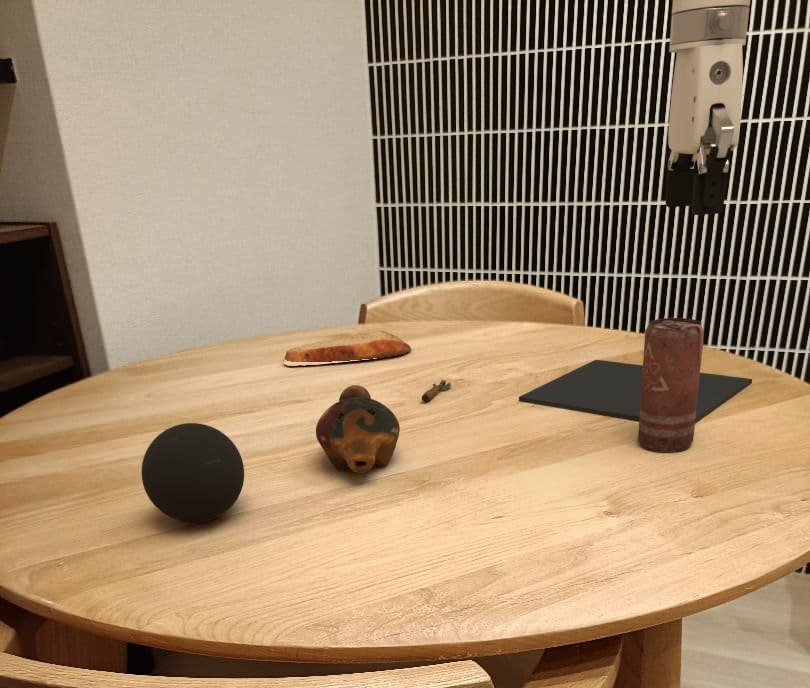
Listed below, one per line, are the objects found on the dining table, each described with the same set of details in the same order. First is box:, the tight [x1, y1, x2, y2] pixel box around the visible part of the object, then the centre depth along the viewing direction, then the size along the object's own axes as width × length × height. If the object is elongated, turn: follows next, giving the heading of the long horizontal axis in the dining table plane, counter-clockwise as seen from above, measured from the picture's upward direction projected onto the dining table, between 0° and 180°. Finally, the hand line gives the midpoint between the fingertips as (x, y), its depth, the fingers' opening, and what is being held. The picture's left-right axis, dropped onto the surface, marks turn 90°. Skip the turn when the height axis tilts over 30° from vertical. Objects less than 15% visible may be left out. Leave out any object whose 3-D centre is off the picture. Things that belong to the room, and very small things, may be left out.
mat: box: [518, 359, 753, 424], centre depth 113 cm, size 24×22×1 cm
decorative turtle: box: [315, 384, 401, 474], centre depth 94 cm, size 10×15×8 cm, turn 10°
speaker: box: [141, 422, 245, 524], centre depth 82 cm, size 10×10×10 cm
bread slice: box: [283, 330, 412, 362], centre depth 140 cm, size 18×18×4 cm
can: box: [637, 317, 705, 453], centre depth 92 cm, size 6×6×14 cm
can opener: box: [421, 379, 452, 402], centre depth 118 cm, size 9×2×1 cm, turn 153°
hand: (692, 209), depth 92 cm, fingers open, 9 cm apart
